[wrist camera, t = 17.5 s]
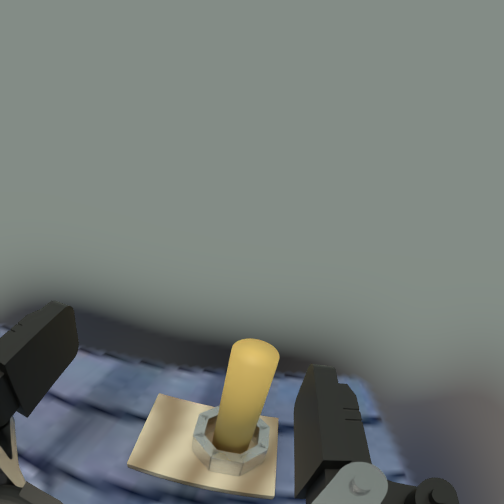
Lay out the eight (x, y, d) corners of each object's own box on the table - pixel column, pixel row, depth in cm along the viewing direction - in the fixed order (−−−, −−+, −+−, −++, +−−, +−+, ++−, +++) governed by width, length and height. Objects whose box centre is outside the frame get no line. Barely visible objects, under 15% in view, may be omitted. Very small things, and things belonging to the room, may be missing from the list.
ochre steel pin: (208, 457, 30) (228, 362, 25) (214, 431, 34) (234, 334, 29) (245, 464, 30) (279, 372, 25) (248, 437, 34) (279, 343, 29)
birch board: (128, 467, 27) (126, 463, 27) (159, 397, 39) (159, 393, 39) (272, 499, 26) (274, 496, 26) (276, 422, 39) (278, 418, 38)
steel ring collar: (187, 466, 28) (187, 451, 27) (201, 416, 37) (203, 399, 35) (260, 479, 28) (266, 466, 27) (265, 428, 36) (270, 412, 35)
